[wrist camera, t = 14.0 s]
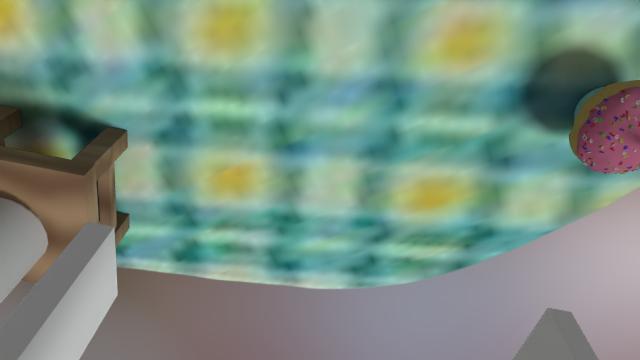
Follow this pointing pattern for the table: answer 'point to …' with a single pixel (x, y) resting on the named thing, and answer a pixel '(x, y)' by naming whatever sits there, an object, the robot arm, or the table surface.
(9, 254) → the can
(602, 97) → the cupcake
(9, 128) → the stool
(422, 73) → the table surface
